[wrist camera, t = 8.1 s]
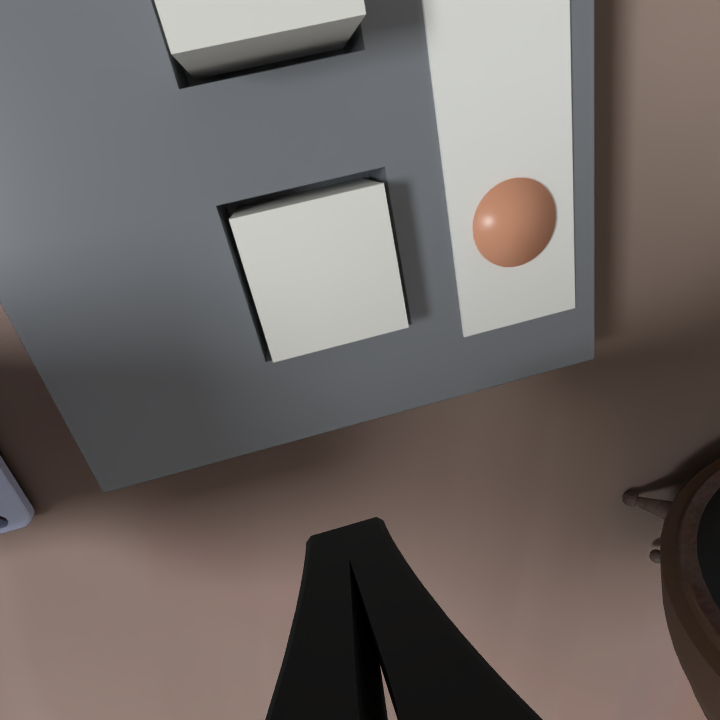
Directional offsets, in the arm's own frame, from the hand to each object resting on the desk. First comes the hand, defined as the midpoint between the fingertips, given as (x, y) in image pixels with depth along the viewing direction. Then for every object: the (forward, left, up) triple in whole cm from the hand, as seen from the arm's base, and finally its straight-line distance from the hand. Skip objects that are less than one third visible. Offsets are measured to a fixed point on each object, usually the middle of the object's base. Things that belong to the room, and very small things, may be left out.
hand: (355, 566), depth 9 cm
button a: (+1, +4, -9) cm, 10 cm away
